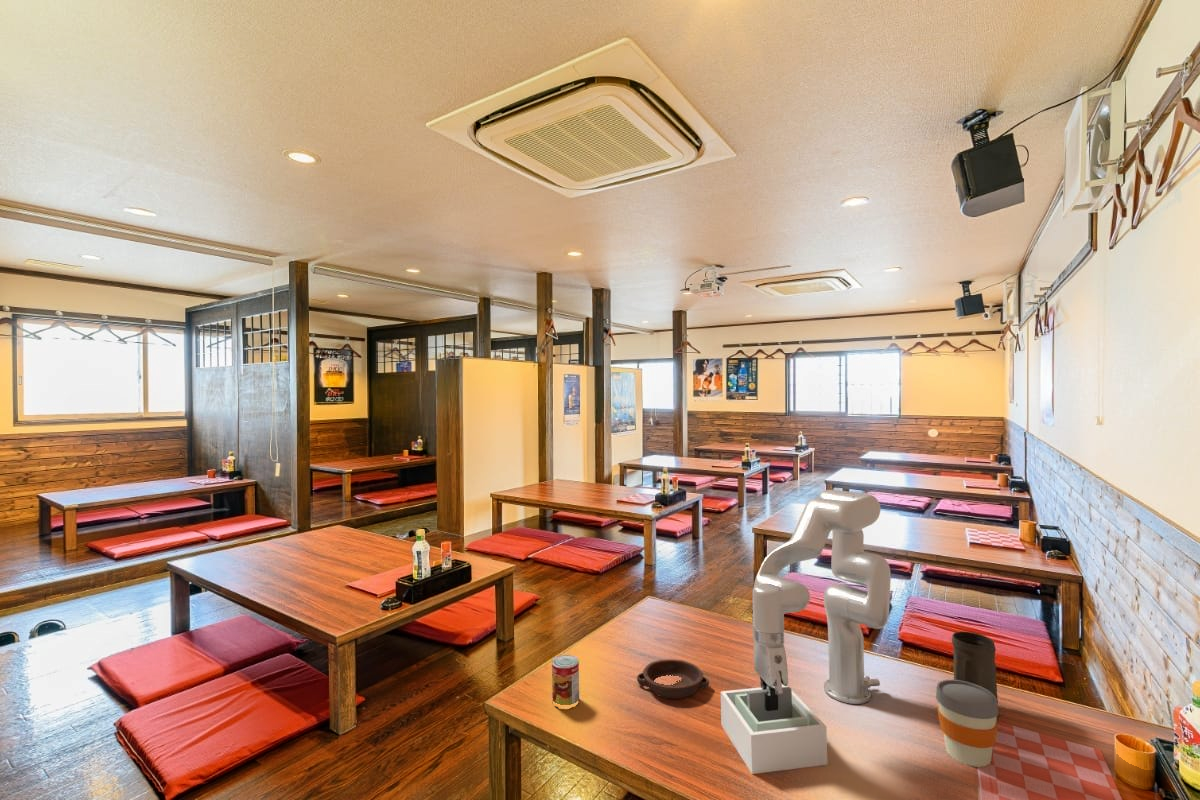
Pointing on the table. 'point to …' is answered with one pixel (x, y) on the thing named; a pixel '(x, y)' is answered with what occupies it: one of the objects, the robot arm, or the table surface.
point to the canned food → (565, 679)
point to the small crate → (765, 720)
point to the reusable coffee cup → (967, 721)
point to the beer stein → (975, 660)
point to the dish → (683, 669)
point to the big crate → (775, 739)
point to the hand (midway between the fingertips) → (770, 707)
